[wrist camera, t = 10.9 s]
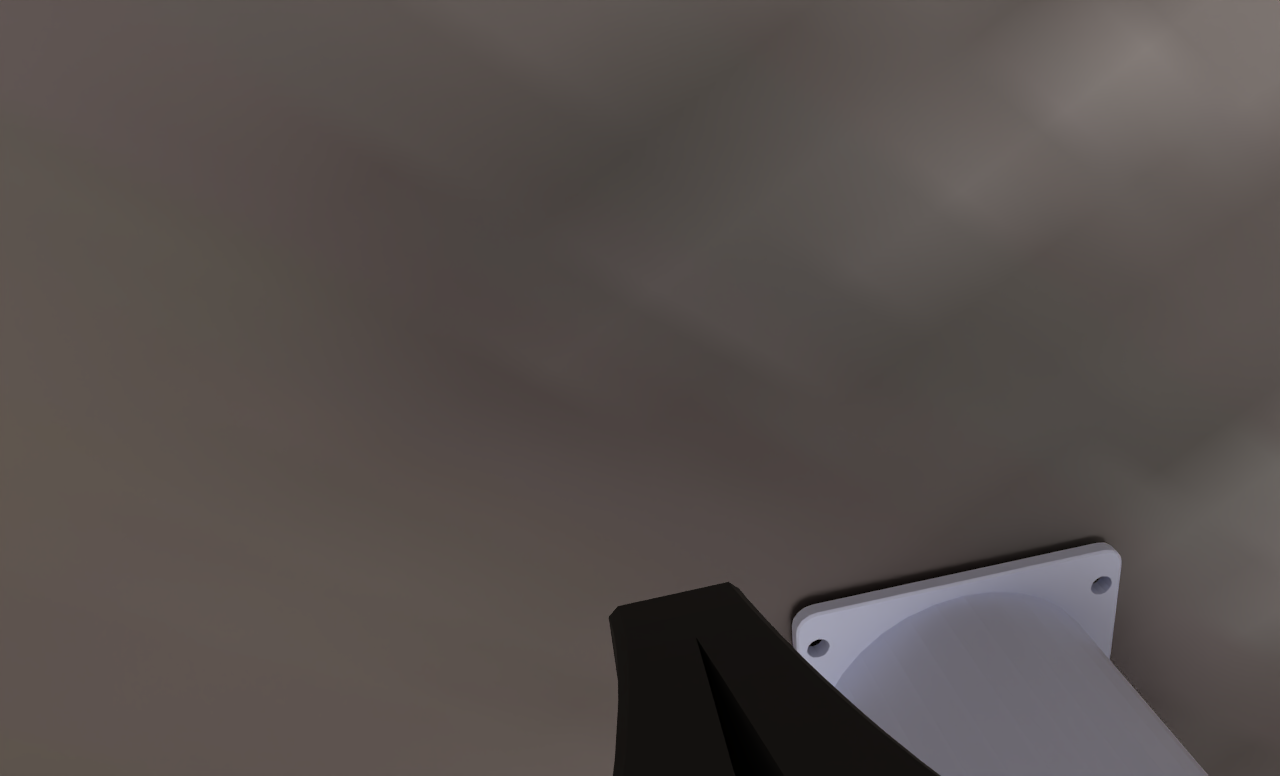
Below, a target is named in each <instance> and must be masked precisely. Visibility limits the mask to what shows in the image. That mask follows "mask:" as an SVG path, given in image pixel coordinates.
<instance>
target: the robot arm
mask: <svg viewBox="0 0 1280 776" xmlns="http://www.w3.org/2000/svg"><path fill="white" fill-rule="evenodd" d="M1121 565H1122V560H1121V556H1120V555H1119V553H1118V552H1117V551H1116V550H1115V549H1114V548H1113V547H1112V546H1111V545H1110V544H1107V543H1105V542H1102V543H1093V544H1089V545H1084V546H1080V547H1075V548H1070V549H1066V550H1061V551H1057V552H1052V553H1047V554H1043V555H1038V556H1034V557H1029V558H1024V559H1020V560H1015V561H1011V562H1006V563H1001V564H997V565H992V566H987V567H983V568H978V569H974V570H969V571H964V572H960V573H955V574H951V575H946V576H941V577H937V578H932V579H928V580H923V581H918V582H914V583H909V584H905V585H900V586H895V587H891V588H886V589H882V590H877V591H872V592H868V593H863V594H859V595H854V596H849V597H845V598H840V599H836V600H831V601H826V602H822V603H817V604H813V605H810V606H807V607H805V608H803V609H802V610H800V611H799V612H798V613H797V614H796V616H795V617H794V619H793V623H792V639H793V647H792V646H791V645H790V644H789V643H788V642H787V641H786V640H785V639H784V638H783V637H782V636H781V635H780V634H779V632H778V631H777V630H776V629H775V628H774V627H773V626H772V625H771V624H770V623H769V622H768V621H767V620H766V619H765V618H764V617H763V615H762V614H761V613H760V612H759V611H758V610H757V609H756V608H755V607H754V606H753V604H752V603H751V602H750V601H749V600H748V599H747V598H746V597H745V595H744V594H743V593H742V592H741V591H740V589H738V588H737V587H735V586H734V585H732V584H731V583H729V582H726V583H722V584H717V585H713V586H708V587H704V588H699V589H695V590H690V591H685V592H681V593H676V594H672V595H667V596H663V597H658V598H654V599H649V600H645V601H640V602H635V603H631V604H626V605H622V606H618V607H617V608H616V609H615V610H614V612H613V613H612V614H611V615H610V616H609V622H610V629H611V636H612V643H613V649H614V656H615V663H616V670H617V677H618V718H617V734H616V751H615V763H614V772H613V776H1209V775H1208V774H1207V773H1206V772H1205V771H1204V770H1203V768H1202V767H1201V766H1200V765H1199V764H1198V763H1197V761H1196V760H1195V759H1194V758H1193V757H1192V755H1191V754H1190V753H1189V752H1188V751H1187V750H1186V748H1185V747H1184V746H1183V745H1182V744H1181V743H1180V741H1179V740H1178V739H1177V738H1176V737H1175V736H1174V734H1173V733H1172V732H1171V731H1170V730H1169V729H1168V727H1167V726H1166V725H1165V724H1164V723H1163V722H1162V720H1161V719H1160V718H1159V717H1158V716H1157V715H1156V713H1155V712H1154V711H1153V710H1152V709H1151V708H1150V706H1149V705H1148V704H1147V703H1146V702H1145V700H1144V699H1143V698H1142V697H1141V696H1140V695H1139V693H1138V692H1137V691H1136V690H1135V689H1134V688H1133V686H1132V685H1131V684H1130V683H1129V682H1128V681H1127V679H1126V678H1125V677H1124V676H1123V675H1122V674H1121V672H1120V671H1119V670H1118V669H1117V668H1116V667H1115V665H1114V664H1113V663H1112V662H1111V661H1110V655H1111V647H1112V639H1113V631H1114V622H1115V614H1116V606H1117V598H1118V590H1119V582H1120V573H1121ZM1100 577H1101V578H1100ZM1098 578H1100V579H1099V580H1098V581H1097V582H1095V583H1093V582H1094V581H1095V580H1096V579H1098ZM818 639H823V640H822V641H821V642H820V643H819V644H817V645H815V646H809V645H810V644H811V643H812V642H813V641H815V640H818Z"/></svg>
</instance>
